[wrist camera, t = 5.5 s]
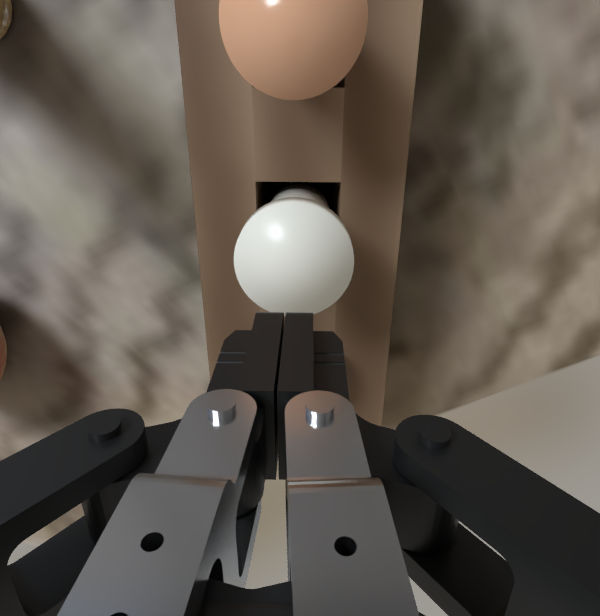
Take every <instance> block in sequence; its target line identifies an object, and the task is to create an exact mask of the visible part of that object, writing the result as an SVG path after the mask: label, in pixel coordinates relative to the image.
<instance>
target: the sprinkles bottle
mask: <svg viewBox="0 0 600 616" xmlns="http://www.w3.org/2000/svg"><path fill="white" fill-rule="evenodd" d="M11 20H12V4H11V0H0V39H1V38H2V37H3V36H4V35H5V34H6V32H7V30H8V28H9V26H10V23H11Z"/></svg>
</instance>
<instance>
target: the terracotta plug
mask: <svg viewBox="0 0 600 616" xmlns="http://www.w3.org/2000/svg"><path fill="white" fill-rule="evenodd" d="M367 23H368V4H367V0H220V1H219V24H220V32H221V36H222V40H223V43H224V46H225V49H226V52H227V54H228V56H229V58H230V60H231V62H232V63H233V65H234V66H235V68H236V69H237V71H238V72H239V73H240V74H241V75H242V77H243V78H244V79H245V80H246V81H247V82H248V83H250V84H251V85H252V86H253V87H255V88H256V89H258V90H259V91H261V92H263V93H265V94H267V95H269V96H272V97H275V98H279V99H283V100H304V99H308V98H312V97H315V96H318V95H321V94H322V93H324V92H326V91H328V90H330V89H331V88H332V87H334V86H335V85H337V84H338V83H339V82H340V81H341V80H342V79H343V78H344V77H345V76H346V74H347V73H348V72H349V71H350V70H351V68H352V66H353V65H354V63H355V62H356V60H357V58H358V56H359V54H360V52H361V49H362V46H363V43H364V40H365V35H366V31H367Z"/></svg>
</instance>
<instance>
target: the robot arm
mask: <svg viewBox="0 0 600 616" xmlns="http://www.w3.org/2000/svg"><path fill="white" fill-rule="evenodd" d="M278 459H279V479H283V480H286V526H287V556H288V557H287V559H288V582H284V583H280V584H275V585H272V586H267V587H262V588H258V589H245V585H246V580H247V575H248V571H249V566H250V561H251V556H252V552H253V547H254V542H255V537H256V533H257V528H258V523H259V518H260V513H261V498H262V495H263V490H264V482H265V479H274V480H275V479H276V472H277V461H278ZM80 503H82V507H83V510H84V514H85V516H83V517H82V518H80V519H79V520H77V521H76V522H74V523H73V524H71V525H70V526H68V527H67V528H65V529H64V530H62V531H61V532H59V533H58V534H56V535H55V536H53V537H52V538H50V539H49V540H47V541H46V542H44V543H43V544H41V545H40V546H38V547H37V548H35V549H34V550H32V551H31V552H29V553H28V554H26V555H25V556H23V557H22V558H20V559H19V560H18V561H16V562H14V563H13V564H10V565H8V566H7V563H8V560H9V557H10V555H11V553H12V552H13V550H14V549H15V548H16V547H17V546H18V545H19V544H20V543H21V542H22V541H23V540H25V539H26V538H28V537H29V536H31V535H32V534H34V533H35V532H37V531H39V530H40V529H42V528H43V527H45V526H46V525H48V524H49V523H51V522H52V521H54V520H56V519H57V518H59V517H60V516H62V515H63V514H65V513H66V512H68V511H69V510H71V509H72V508H74V507H76V506H77V505H79V504H80ZM458 521H460V522H462V523H463V524H464V525H465V526H467V527H468V528H469V529H470V530H472V531H473V532H474V533H475V534H477V535H478V536H479V537H480V538H482V539H483V540H484V541H485V542H487V543H488V544H489V545H490V546H492V547H493V548H494V549H495V550H497V551H498V552H499V553H500V554H501V555H502V556H503V557H504V558H505V559H506V560H504V559H503V558H502V557H500V556H499V555H498V554H497V553H496V552H494V551H493V550H492V549H491V548H489V547H488V546H487V545H486V544H484V543H483V542H482V541H481V540H479V539H478V538H477V537H476V536H474V535H473V534H472V533H471V532H469V531H468V530H467V529H466V528H464V527H463V526H462V525H461V524H459V523H458ZM409 577H410V578H411V579H412V580H413V581H414V582H415V583H416V584H417V585H418V586H419V587H420V588H421V589H422V590H423V591H424V592H425V593H426V594H427V595H428V596H429V597H430V598H431V599H432V600H433V601H434V602H435V603H436V604H437V605H438V606H439V607H440V608H441V609H442V610H443V611H444V612H445V613H446V614H447V615H449V616H600V513H598V512H596V511H595V510H593V509H592V508H590V507H589V506H587V505H585V504H584V503H582V502H581V501H579V500H577V499H576V498H574V497H573V496H571V495H569V494H568V493H566V492H565V491H563V490H561V489H560V488H558V487H557V486H555V485H553V484H552V483H550V482H548V481H547V480H545V479H544V478H542V477H541V476H539V475H537V474H536V473H534V472H533V471H531V470H530V469H528V468H526V467H525V466H523V465H521V464H520V463H518V462H517V461H515V460H514V459H512V458H510V457H509V456H507V455H505V454H504V453H502V452H501V451H499V450H497V449H496V448H494V447H493V446H491V445H490V444H488V443H486V442H485V441H483V440H482V439H480V438H479V437H477V436H475V435H474V434H472V433H471V432H469V431H467V430H466V429H464V428H463V427H461V426H459V425H458V424H456V423H454V422H452V421H450V420H448V419H445V418H442V417H438V416H433V415H417V416H412V417H409V418H407V419H405V420H403V421H402V422H401V423H400V424H399V425H398V427H397V428H396V430H393V429H389V428H385V427H381V426H378V425H375V424H372V423H370V422H368V421H366V420H364V419H363V418H361V417H360V416H359V415H358V414H356V413H355V410H354V407H353V405H352V404H351V403H350V401H349V393H348V384H347V376H346V367H345V359H344V350H343V342H342V340H341V339H340V338H339V337H338V336H337V335H336V334H335V333H334V332H333V331H313V313H301V312H286V316H285V325H284V312H256V314H255V318H254V322H253V326H252V330H235V331H234V332H233V333H231V334H230V335H229V336H228V337H227V338H226V339H225V340H224V342H223V345H222V348H221V351H220V354H219V357H218V360H217V363H216V366H215V369H214V372H213V374H212V377H211V380H210V383H209V386H208V389H207V392H206V393H204V394H202V395H200V396H198V397H197V398H196V399H194V400H193V401H192V402H191V403H190V404H189V406H188V408H187V410H186V412H185V414H184V416H183V418H182V419H179V420H176V421H173V422H169V423H165V424H160V425H155V426H150V427H145V425H144V421H143V419H142V417H141V416H140V415H139V414H137V413H136V412H134V411H131V410H127V409H108V410H103V411H99V412H96V413H93V414H91V415H89V416H86V417H84V418H83V419H81V420H79V421H77V422H75V423H73V424H71V425H69V426H67V427H65V428H63V429H61V430H59V431H58V432H56V433H54V434H52V435H50V436H48V437H46V438H44V439H42V440H40V441H38V442H36V443H34V444H32V445H31V446H29V447H27V448H25V449H23V450H21V451H19V452H17V453H15V454H13V455H11V456H9V457H7V458H6V459H4V460H2V461H0V616H425V615H423V614H421V613H420V612H418V610H417V606H416V602H415V598H414V595H413V591H412V587H411V584H410V580H409Z"/></svg>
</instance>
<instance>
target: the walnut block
mask: <svg viewBox="0 0 600 616" xmlns="http://www.w3.org/2000/svg"><path fill="white" fill-rule="evenodd" d="M219 1H220V0H175V11H176V21H177V32H178V42H179V53H180V64H181V74H182V85H183V95H184V106H185V117H186V127H187V138H188V148H189V159H190V170H191V180H192V191H193V201H194V212H195V223H196V233H197V244H198V254H199V265H200V276H201V286H202V297H203V307H204V318H205V329H206V339H207V350H208V360H209V371H210V380H211V377H212V374H213V372H214V369H215V366H216V363H217V360H218V357H219V354H220V351H221V348H222V345H223V342H224V340H225V339H226V338H227V337H228V336H229V335H230V334H231V333H233V332H234V331H235V330H252V326H253V322H254V318H255V314H256V312H269V311H267V310H265V309H263V308H261V307H260V306H258V305H257V304H256V303H254V302H253V301H252V300H251V299H250V298H249V297H248V296H247V295H246V293H245V292H244V291H243V289H242V287H241V286H240V284H239V282H238V279H237V277H236V273H235V269H234V250H235V246H236V242H237V239H238V237H239V235H240V233H241V231H242V229H243V227H244V225H245V223H246V222H247V220H248V219H249V218H250V217H251V215H252V214H253V213H254V212H255V211H257V210H258V209H259V208H261V207H262V206H264V205H265V204H267V203H268V196H267V182H335V188H334V213H335V214H336V215H337V216H338V217H339V218H340V219H341V220H342V222H343V223H344V225H345V227H346V229H347V231H348V233H349V236H350V239H351V243H352V247H353V253H354V270H353V274H352V278H351V280H350V283H349V285H348V287H347V289H346V290H345V292H344V293H343V294H342V296H341V297H340V298H339V299H338V300H337V301H336V302H335V303H334V304H332V305H331V306H330V307H328V308H326V309H325V310H323V311H321V312H318V313H316V314H313V331H333V332H334V333H335V334H336V335H337V336H338V337H339V338H340V339H341V340H342V342H343V350H344V359H345V367H346V376H347V384H348V393H349V401H350V403H351V404H352V405H353V407H354V410H355V413H356V414H358V415H359V416H360V417H361V418H363V419H364V420H366V421H368V422H370V423H372V424H375V425H378V426H381V427H382V416H383V406H384V396H385V386H386V376H387V365H388V355H389V345H390V335H391V325H392V314H393V304H394V294H395V284H396V274H397V263H398V253H399V243H400V233H401V223H402V212H403V202H404V192H405V182H406V172H407V161H408V151H409V141H410V131H411V121H412V110H413V100H414V90H415V80H416V70H417V59H418V49H419V39H420V29H421V19H422V8H423V0H367V4H368V23H367V31H366V35H365V40H364V43H363V46H362V49H361V52H360V54H359V56H358V58H357V60H356V62H355V63H354V65H353V66H352V68H351V70H350V71H349V72H348V73H347V74H346V76H345V77H344V78H343V79H342V80H341V81H340V82H339V83H338V86H334V87H332V88H331V89H330V90H328V91H326V92H324V93H322V94H321V95H318V96H315V97H312V98H308V99H304V100H283V99H279V98H275V97H272V96H269V95H267V94H265V93H263V92H261V91H259V90H258V89H256V88H255V87H253V86H252V85H251V84H250V83H248V82H247V81H246V80H245V79H244V78H243V77H242V75H241V74H240V73H239V72H238V71H237V69H236V68H235V66H234V65H233V63H232V62H231V60H230V58H229V56H228V54H227V52H226V49H225V46H224V43H223V40H222V36H221V32H220V24H219ZM284 325H285V316H284Z"/></svg>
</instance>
